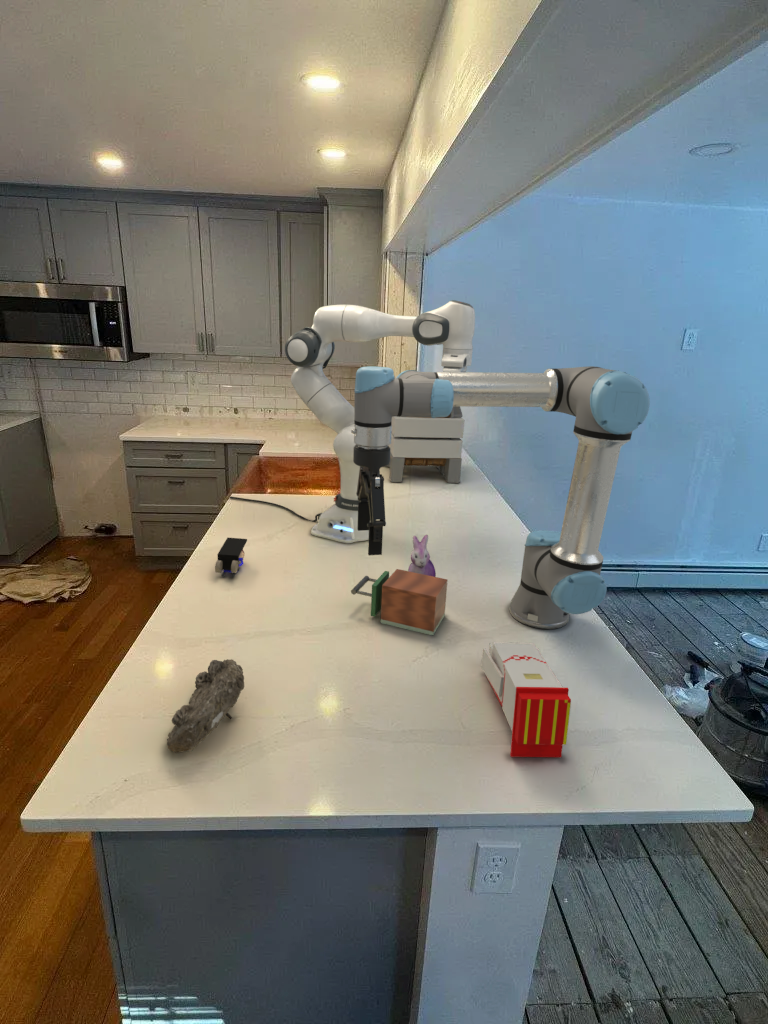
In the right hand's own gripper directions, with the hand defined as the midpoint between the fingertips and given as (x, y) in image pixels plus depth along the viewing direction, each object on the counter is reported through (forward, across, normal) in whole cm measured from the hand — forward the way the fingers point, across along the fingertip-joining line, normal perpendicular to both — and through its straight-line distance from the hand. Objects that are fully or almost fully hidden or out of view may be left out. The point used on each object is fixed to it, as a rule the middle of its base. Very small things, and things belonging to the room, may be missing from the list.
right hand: (368, 541), depth 122 cm
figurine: (+27, -30, +22) cm, 46 cm away
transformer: (+27, -144, +52) cm, 156 cm away
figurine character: (+27, -46, -32) cm, 62 cm away
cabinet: (+27, -12, +14) cm, 33 cm away
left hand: (-20, -56, +36) cm, 69 cm away
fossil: (+27, +18, -33) cm, 46 cm away
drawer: (+26, -15, +9) cm, 32 cm away
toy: (+27, +25, +27) cm, 45 cm away
